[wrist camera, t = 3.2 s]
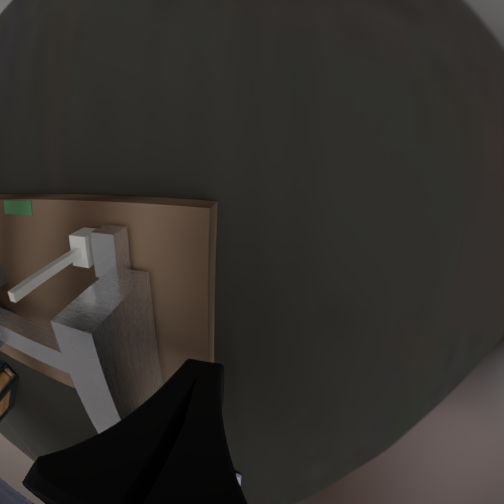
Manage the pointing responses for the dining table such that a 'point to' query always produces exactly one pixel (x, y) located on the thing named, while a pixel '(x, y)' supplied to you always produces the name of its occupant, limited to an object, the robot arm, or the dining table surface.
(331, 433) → the dining table surface
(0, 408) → the ammunition clip
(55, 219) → the frame
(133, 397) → the grey angular piece
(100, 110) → the dining table surface
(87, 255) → the rod
